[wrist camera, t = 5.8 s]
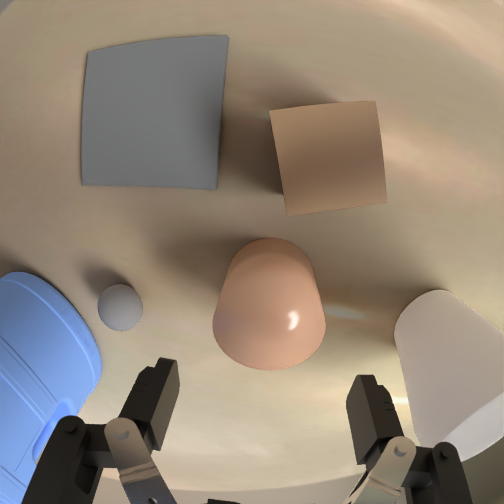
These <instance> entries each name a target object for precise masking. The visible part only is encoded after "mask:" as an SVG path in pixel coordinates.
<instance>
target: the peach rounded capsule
mask: <svg viewBox="0 0 504 504" xmlns="http://www.w3.org/2000/svg"><path fill="white" fill-rule="evenodd" d="M325 330H326V322H325V316H324V312H323V308H322V304H321V300H320V296H319V292H318V288H317V284H316V280H315V276H314V273H313V269H312V266H311V263H310V261H309V259H308V257H307V256H306V254H305V253H304V252H303V251H302V250H301V249H300V248H299V247H297V246H296V245H294V244H292V243H290V242H288V241H285V240H282V239H276V238H265V239H259V240H256V241H253V242H251V243H249V244H247V245H245V246H244V247H242V248H241V249H240V250H239V251H238V252H237V253H236V254H235V256H234V257H233V259H232V261H231V263H230V266H229V269H228V272H227V275H226V279H225V282H224V285H223V288H222V291H221V294H220V298H219V301H218V304H217V307H216V310H215V314H214V317H213V333H214V337H215V339H216V341H217V343H218V345H219V347H220V348H221V349H222V350H223V352H224V353H225V354H227V355H228V356H229V357H230V358H231V359H233V360H234V361H236V362H238V363H240V364H242V365H244V366H247V367H250V368H254V369H260V370H279V369H285V368H289V367H292V366H295V365H297V364H299V363H301V362H303V361H304V360H306V359H307V358H309V357H310V356H311V355H312V354H313V353H314V352H315V351H316V350H317V349H318V347H319V346H320V344H321V342H322V341H323V338H324V335H325Z"/></svg>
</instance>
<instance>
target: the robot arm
mask: <svg viewBox="0 0 504 504" xmlns="http://www.w3.org/2000/svg"><path fill="white" fill-rule="evenodd" d="M179 387H180V382H179V374H178V365H177V361H176V360H173V359H167V358H161V357H160V358H159V359H158V361H157V363H156V366H155V368H154V367H149V366H147V367H146V368H145V369H144V370H143V371H141V372H140V373H139V375H138V377H137V379H136V381H135V383H134V385H133V387H132V390H131V392H130V394H129V396H128V398H127V400H126V402H125V404H124V406H123V408H122V410H121V413H120V415H119V416H118V417H117V418H115V419H113V420H111V421H109V422H108V423H107V424H101V425H100V424H85V423H84V421H83V420H82V419H81V418H79V417H77V416H74V415H68V416H65V417H63V418H61V419H60V420H59V421H58V422H57V424H56V426H55V428H54V430H53V432H52V434H51V436H50V438H49V440H48V442H47V444H46V447H45V449H44V451H43V453H42V455H41V457H40V460H39V462H38V464H37V466H36V468H35V471H34V473H33V475H32V478H31V480H30V482H29V485H28V487H27V490H26V492H25V495H24V497H23V500H22V502H21V504H92V503H93V499H94V496H95V493H96V490H97V486H98V483H99V480H100V477H101V474H102V471H103V468H117V469H118V472H119V474H120V476H119V478H120V481H121V483H122V486H123V488H124V490H125V493H126V495H127V497H128V499H129V501H130V503H131V504H177V502H176V501H175V499H174V497H173V496H172V494H171V492H170V490H169V489H168V487H167V485H166V483H165V482H164V480H163V478H162V476H161V474H160V472H159V470H158V469H157V467H156V465H155V464H154V462H153V460H152V458H151V454H152V451H153V450H157V451H160V450H161V447H162V444H163V440H164V437H165V434H166V431H167V428H168V425H169V422H170V419H171V415H172V412H173V409H174V406H175V403H176V400H177V397H178V394H179ZM392 402H393V401H392V398H391V396H390V393H389V392H388V391H387V389H386V388H385V387H384V386H383V385H377V382H376V379H375V376H374V375H357V376H356V378H355V380H354V382H353V385H352V387H351V389H350V391H349V394H348V396H347V400H346V409H347V414H348V419H349V424H350V429H351V434H352V439H353V444H354V450H355V455H356V461H357V465H361V464H366V470H365V471H364V473H363V474H362V476H361V477H360V479H359V481H358V482H357V484H356V485H355V487H354V488H353V490H352V491H351V492H350V494H349V495H348V497H347V498H346V499H345V501H344V502H343V503H342V504H396V502H397V500H398V499H399V497H400V494H401V491H399V489H400V487H404V488H405V494H406V500H407V504H473V503H472V499H471V495H470V492H469V488H468V484H467V480H466V477H465V473H464V470H463V467H462V464H461V460H460V457H459V454H458V451H457V449H456V447H455V446H454V445H453V444H451V443H449V442H440V443H438V444H436V445H435V447H434V448H428V447H419V446H415V444H414V443H413V441H412V440H410V439H409V438H407V437H405V436H404V434H403V431H402V428H401V425H400V422H399V419H398V416H397V413H396V410H395V407H394V404H393V403H392ZM206 504H240V503H236V502H230V501H222V500H214V499H208V503H206Z"/></svg>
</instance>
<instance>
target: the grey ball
mask: <svg viewBox="0 0 504 504" xmlns="http://www.w3.org/2000/svg"><path fill="white" fill-rule="evenodd" d="M142 312H143V305H142V301H141V298H140V296H139V295H138V293H137V292H136V291H135V290H134V289H132V288H131V287H129V286H127V285H123V284H116V285H112V286H110V287H108V288H106V289H105V290H104V291H103V292H102V294H101V296H100V298H99V301H98V313H99V316H100V318H101V320H102V321H103V323H104V324H105V325H106V326H108V327H109V328H111V329H113V330H116V331H127V330H130V329H132V328H133V327H135V326H136V325H137V324H138V322H139V321H140V319H141V316H142Z"/></svg>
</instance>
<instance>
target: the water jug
mask: <svg viewBox="0 0 504 504" xmlns="http://www.w3.org/2000/svg"><path fill="white" fill-rule="evenodd" d="M101 372H102V362H101V356H100V352H99V349H98V346H97V344H96V341H95V339H94V337H93V335H92V333H91V331H90V330H89V328H88V326H87V325H86V323H85V322H84V320H83V319H82V317H81V316H80V315H79V313H78V312H77V311H76V310H75V308H74V307H73V306H72V305H71V304H70V303H69V301H68V300H67V299H66V298H65V297H64V296H63V295H62V294H61V293H59V292H58V291H57V290H56V289H55V288H54V287H52V286H51V285H50V284H48V283H47V282H45V281H44V280H42V279H40V278H39V277H37V276H34V275H32V274H29V273H26V272H11V273H8V274H6V275H5V276H3V277H2V278H1V279H0V504H21V502H22V500H23V497H24V495H25V492H26V490H27V487H28V485H29V482H30V480H31V478H32V475H33V473H34V471H35V468H36V466H37V464H36V461H37V459H38V457H39V455H40V453H41V452H42V450H43V448H44V446H45V444H46V443H47V441H48V439H49V437H50V436H51V434H52V432H53V430H54V428H55V426H56V424H57V422H58V421H59V420H60V419H61V418H63V417H65V416H68V415H74V416H77V415H78V413H79V411H80V409H81V408H82V406H83V404H84V402H85V401H86V399H87V397H88V396H89V395H90V394H91V393H92V392H93V390H94V388H95V387H96V385H97V383H98V382H99V380H100V377H101Z"/></svg>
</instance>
